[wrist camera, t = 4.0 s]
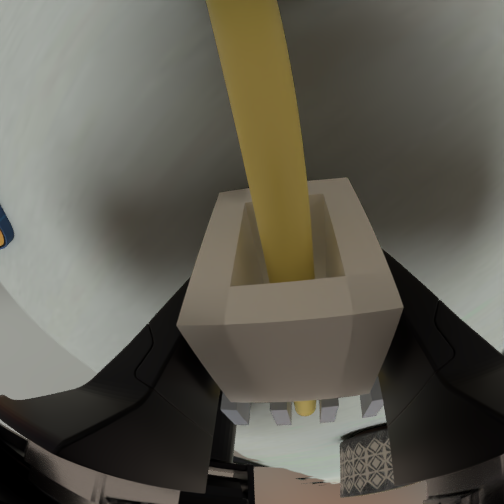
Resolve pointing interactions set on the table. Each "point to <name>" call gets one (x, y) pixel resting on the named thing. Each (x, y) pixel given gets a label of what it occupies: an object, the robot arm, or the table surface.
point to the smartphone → (5, 230)
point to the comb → (283, 410)
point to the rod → (268, 135)
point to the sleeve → (291, 304)
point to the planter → (367, 464)
